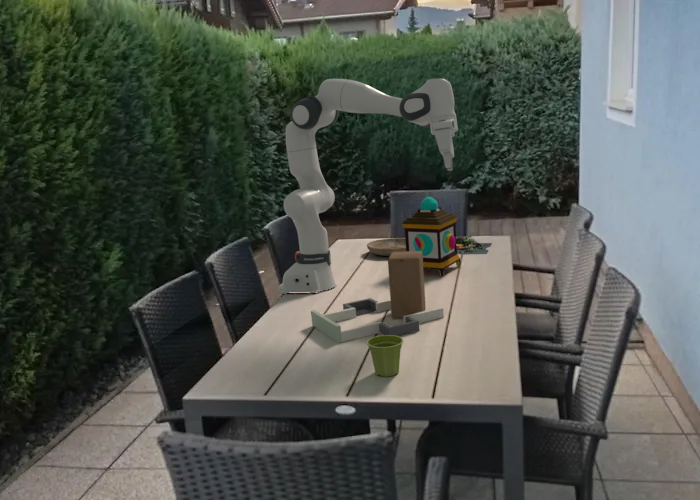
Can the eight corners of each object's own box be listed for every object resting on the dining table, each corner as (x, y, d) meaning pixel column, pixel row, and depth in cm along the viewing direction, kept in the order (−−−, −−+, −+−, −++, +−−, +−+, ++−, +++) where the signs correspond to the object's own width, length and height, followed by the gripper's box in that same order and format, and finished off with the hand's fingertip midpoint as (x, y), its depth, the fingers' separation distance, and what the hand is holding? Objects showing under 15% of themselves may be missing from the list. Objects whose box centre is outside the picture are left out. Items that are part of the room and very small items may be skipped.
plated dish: (413, 258, 302) (412, 242, 301) (423, 245, 329) (423, 230, 327) (494, 258, 293) (494, 241, 292) (498, 244, 320) (498, 229, 318)
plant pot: (367, 367, 182) (364, 336, 180) (402, 363, 183) (400, 333, 181) (371, 381, 173) (368, 349, 171) (408, 377, 174) (405, 345, 172)
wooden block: (422, 319, 218) (419, 257, 213) (391, 319, 220) (387, 258, 216) (425, 309, 227) (422, 250, 223) (395, 309, 229) (392, 251, 225)
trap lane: (411, 303, 235) (411, 289, 234) (443, 317, 218) (442, 302, 217) (312, 325, 220) (310, 310, 218) (338, 342, 202) (336, 326, 201)
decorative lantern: (465, 266, 279) (462, 192, 273) (444, 278, 263) (441, 201, 257) (421, 263, 290) (417, 192, 284) (399, 274, 274) (394, 200, 268)
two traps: (370, 306, 235) (370, 298, 234) (419, 330, 207) (418, 321, 207) (343, 312, 231) (342, 304, 230) (389, 338, 203) (388, 328, 202)
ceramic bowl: (403, 261, 296) (403, 249, 295) (357, 257, 309) (357, 247, 308) (428, 249, 315) (427, 238, 314) (384, 246, 328) (383, 236, 327)
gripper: (437, 133, 236) (441, 173, 236) (431, 123, 216) (436, 167, 216) (455, 130, 235) (460, 170, 235) (451, 120, 215) (456, 164, 215)
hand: (449, 169), depth 225 cm, fingers open, 8 cm apart
